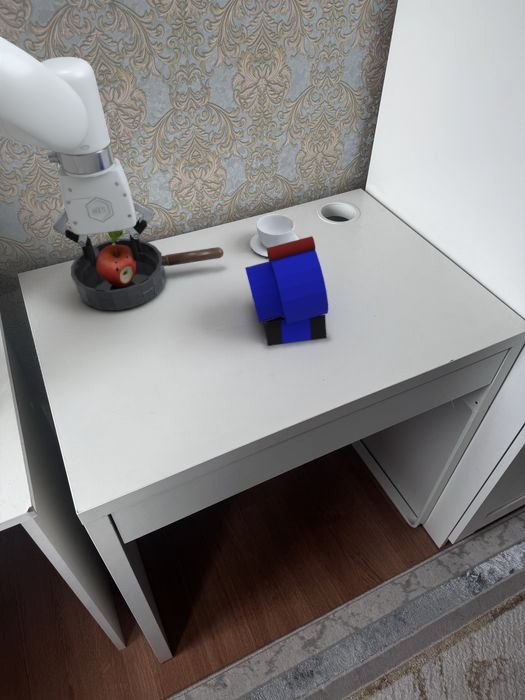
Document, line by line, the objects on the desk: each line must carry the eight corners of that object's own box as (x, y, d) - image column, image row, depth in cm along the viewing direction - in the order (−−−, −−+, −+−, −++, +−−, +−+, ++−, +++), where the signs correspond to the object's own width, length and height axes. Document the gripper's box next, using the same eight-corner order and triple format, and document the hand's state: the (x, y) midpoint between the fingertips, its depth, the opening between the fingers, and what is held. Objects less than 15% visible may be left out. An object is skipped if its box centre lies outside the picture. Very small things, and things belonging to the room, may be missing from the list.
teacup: (309, 251, 93) (311, 230, 90) (263, 264, 90) (263, 243, 87) (285, 226, 100) (286, 205, 96) (242, 238, 97) (241, 217, 93)
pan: (77, 319, 80) (69, 299, 77) (79, 265, 91) (71, 245, 88) (170, 304, 83) (166, 283, 80) (161, 253, 93) (157, 233, 90)
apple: (143, 290, 85) (131, 242, 77) (103, 298, 83) (88, 250, 76) (137, 266, 90) (125, 218, 82) (99, 273, 88) (84, 225, 81)
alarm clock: (330, 337, 77) (340, 259, 66) (254, 347, 75) (252, 270, 65) (311, 289, 85) (317, 214, 74) (243, 298, 84) (239, 222, 73)
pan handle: (160, 269, 86) (158, 260, 84) (159, 263, 87) (157, 253, 85) (224, 259, 87) (223, 250, 86) (222, 253, 89) (221, 244, 87)
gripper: (22, 175, 66) (62, 279, 79) (149, 160, 69) (168, 263, 82) (26, 152, 71) (64, 253, 84) (145, 140, 74) (163, 239, 87)
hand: (115, 257), depth 83 cm, fingers closed on apple, 6 cm apart
